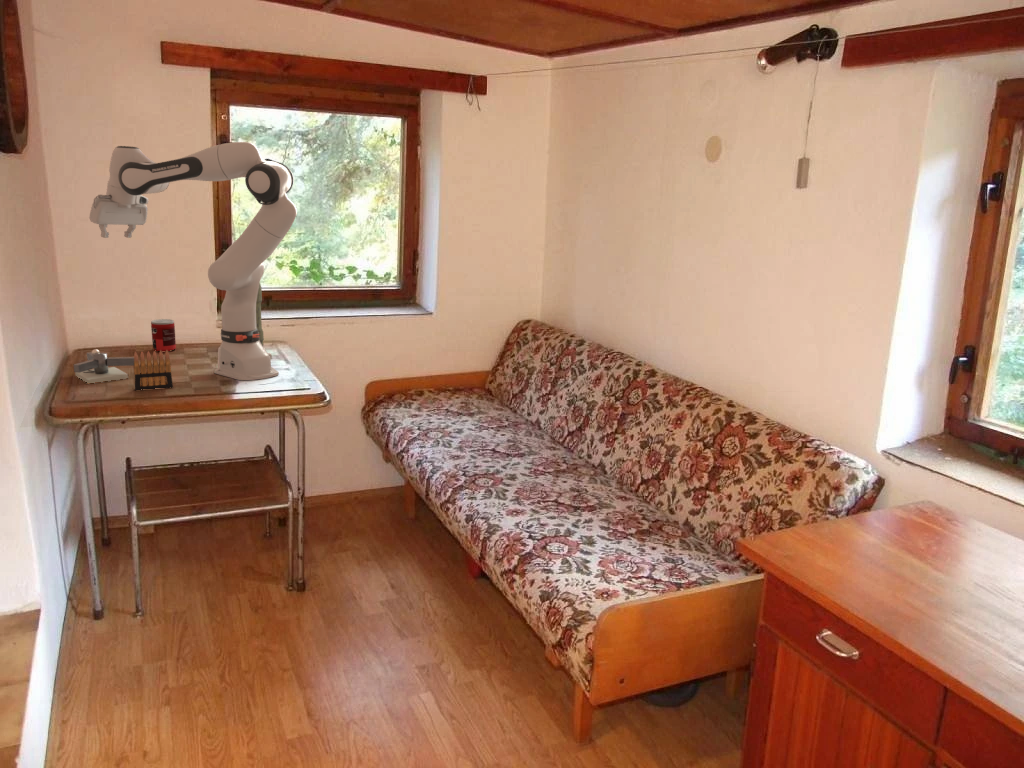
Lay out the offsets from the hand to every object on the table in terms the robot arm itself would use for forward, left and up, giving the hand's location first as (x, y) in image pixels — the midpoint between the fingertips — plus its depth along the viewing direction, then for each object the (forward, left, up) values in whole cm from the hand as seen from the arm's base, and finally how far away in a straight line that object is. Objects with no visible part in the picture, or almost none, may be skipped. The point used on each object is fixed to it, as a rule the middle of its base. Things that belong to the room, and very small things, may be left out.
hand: (116, 237), depth 267 cm
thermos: (+3, -48, -43) cm, 64 cm away
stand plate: (-14, +12, -43) cm, 47 cm away
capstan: (-11, +12, -41) cm, 45 cm away
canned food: (+14, -19, -43) cm, 49 cm away
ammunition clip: (-36, +4, -43) cm, 56 cm away
